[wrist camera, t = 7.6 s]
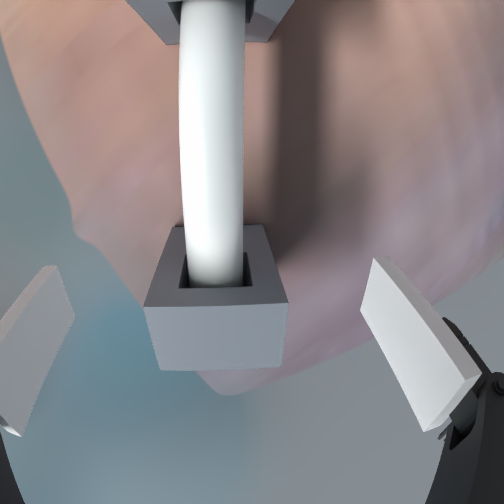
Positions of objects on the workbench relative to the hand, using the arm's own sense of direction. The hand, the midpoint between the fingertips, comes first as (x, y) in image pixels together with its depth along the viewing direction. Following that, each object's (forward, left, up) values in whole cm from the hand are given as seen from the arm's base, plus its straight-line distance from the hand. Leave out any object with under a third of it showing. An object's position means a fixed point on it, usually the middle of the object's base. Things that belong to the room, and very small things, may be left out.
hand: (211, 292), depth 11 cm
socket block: (+7, 0, -18) cm, 19 cm away
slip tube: (-5, 0, -12) cm, 12 cm away
